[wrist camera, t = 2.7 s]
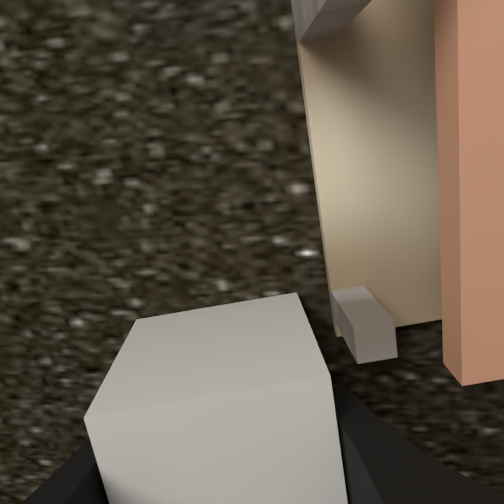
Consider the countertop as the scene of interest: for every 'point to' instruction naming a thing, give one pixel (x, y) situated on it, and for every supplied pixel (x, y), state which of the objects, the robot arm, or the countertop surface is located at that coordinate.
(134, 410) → the off-white sharp-edged cube
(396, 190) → the frame
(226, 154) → the countertop surface
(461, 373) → the trapdoor
